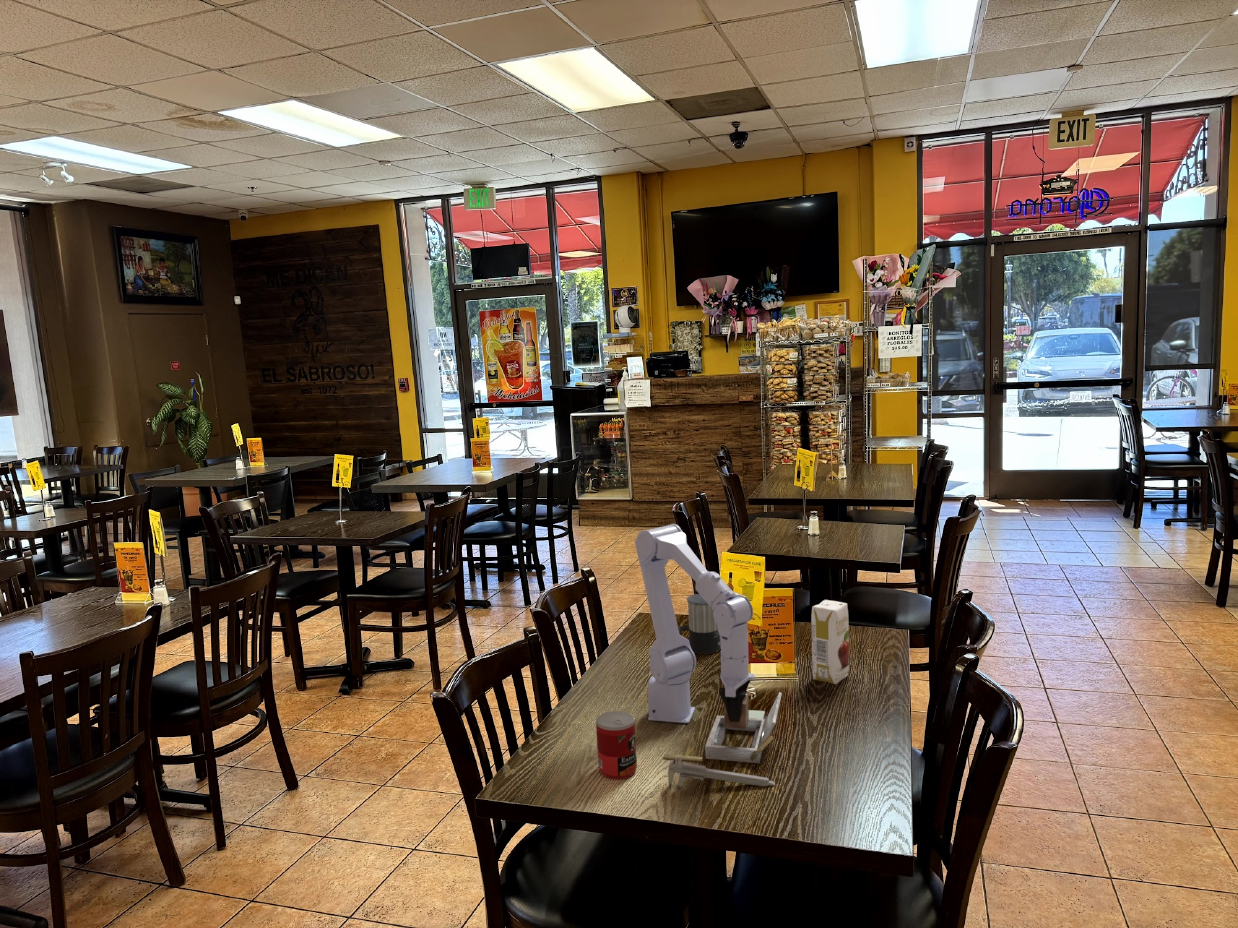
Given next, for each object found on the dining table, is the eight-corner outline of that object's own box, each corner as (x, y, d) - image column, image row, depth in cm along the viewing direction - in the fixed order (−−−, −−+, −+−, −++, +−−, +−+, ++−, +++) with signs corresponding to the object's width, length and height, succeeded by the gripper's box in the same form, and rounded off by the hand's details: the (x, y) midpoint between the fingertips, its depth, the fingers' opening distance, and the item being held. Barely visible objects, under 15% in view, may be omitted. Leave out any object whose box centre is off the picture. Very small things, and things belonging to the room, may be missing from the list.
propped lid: (749, 760, 167) (748, 722, 166) (758, 725, 182) (757, 690, 181) (775, 763, 166) (774, 724, 165) (782, 727, 181) (781, 691, 180)
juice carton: (809, 679, 208) (807, 606, 206) (825, 669, 215) (823, 597, 212) (837, 686, 203) (835, 611, 201) (852, 675, 210) (851, 602, 207)
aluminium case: (705, 758, 171) (705, 746, 170) (717, 726, 185) (717, 715, 185) (759, 763, 168) (759, 750, 167) (767, 730, 182) (767, 718, 182)
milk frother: (719, 655, 228) (717, 603, 226) (663, 653, 232) (660, 602, 230) (725, 637, 242) (723, 588, 240) (671, 636, 246) (669, 587, 244)
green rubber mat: (724, 724, 186) (724, 723, 186) (730, 709, 193) (730, 708, 193) (760, 727, 183) (760, 726, 183) (764, 712, 191) (764, 711, 191)
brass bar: (663, 760, 172) (663, 755, 172) (664, 757, 173) (664, 753, 173) (702, 763, 170) (702, 758, 170) (702, 761, 171) (702, 756, 170)
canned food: (624, 783, 163) (622, 730, 161) (590, 774, 167) (587, 722, 165) (644, 766, 169) (642, 714, 168) (611, 757, 173) (608, 707, 172)
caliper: (668, 789, 160) (667, 758, 159) (668, 786, 161) (667, 755, 160) (775, 786, 159) (774, 755, 158) (774, 784, 160) (773, 753, 159)
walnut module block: (724, 727, 174) (723, 700, 174) (727, 717, 179) (727, 691, 178) (746, 729, 173) (745, 702, 172) (748, 719, 177) (748, 693, 177)
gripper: (749, 668, 166) (750, 732, 168) (757, 643, 180) (759, 702, 181) (714, 666, 168) (716, 729, 170) (725, 641, 182) (727, 700, 183)
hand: (736, 715), depth 176 cm, fingers closed on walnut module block, 4 cm apart
